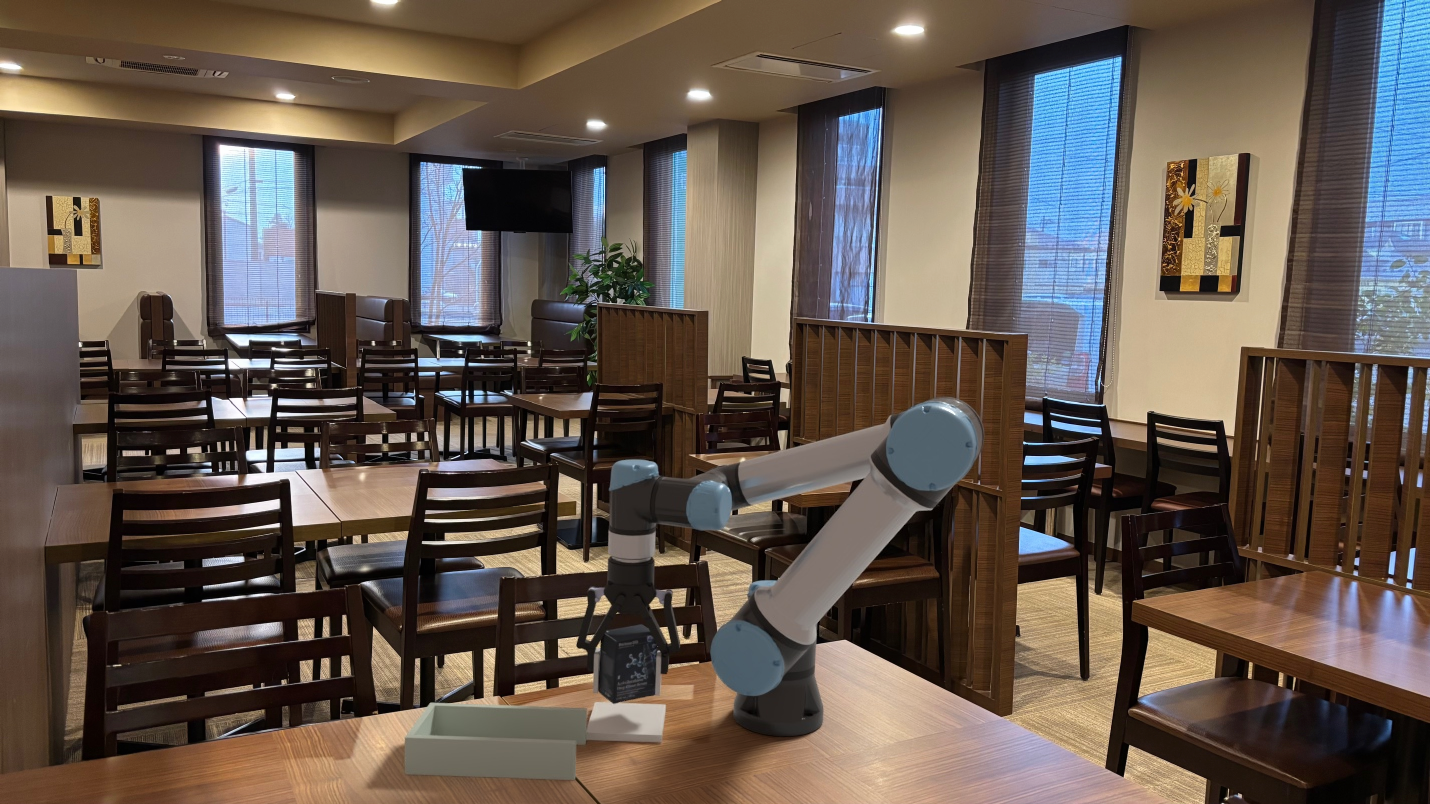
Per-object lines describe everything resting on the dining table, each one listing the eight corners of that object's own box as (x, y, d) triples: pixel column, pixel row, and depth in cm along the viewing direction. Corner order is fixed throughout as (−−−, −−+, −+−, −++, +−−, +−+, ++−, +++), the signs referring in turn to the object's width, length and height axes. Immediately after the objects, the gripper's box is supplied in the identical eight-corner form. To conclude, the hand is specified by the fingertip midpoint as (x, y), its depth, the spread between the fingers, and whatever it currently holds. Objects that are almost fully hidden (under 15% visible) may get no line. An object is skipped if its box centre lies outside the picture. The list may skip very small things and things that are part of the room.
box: (613, 705, 156) (615, 640, 155) (597, 692, 161) (599, 630, 160) (656, 696, 161) (658, 633, 160) (639, 684, 165) (641, 622, 164)
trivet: (665, 711, 167) (665, 704, 167) (661, 742, 155) (661, 735, 155) (594, 708, 167) (595, 701, 167) (585, 739, 155) (585, 732, 155)
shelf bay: (586, 741, 155) (587, 708, 154) (574, 780, 142) (575, 743, 142) (430, 736, 155) (430, 702, 154) (404, 774, 142) (404, 737, 142)
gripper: (700, 553, 162) (695, 684, 165) (566, 547, 162) (563, 679, 165) (699, 565, 155) (694, 703, 157) (559, 559, 155) (555, 697, 157)
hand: (627, 691), depth 161 cm, fingers closed on box, 9 cm apart
